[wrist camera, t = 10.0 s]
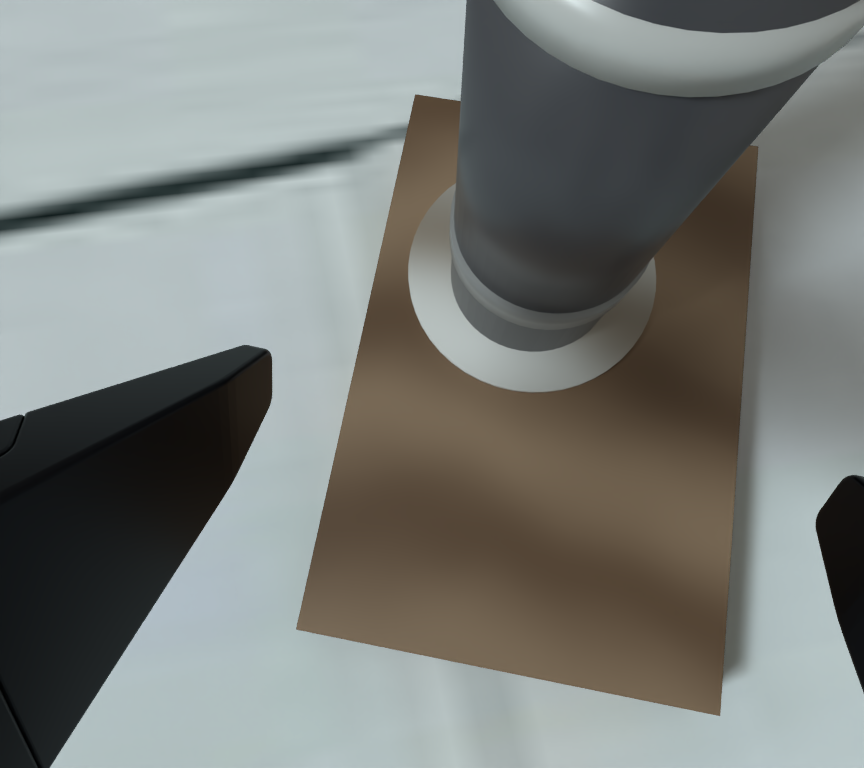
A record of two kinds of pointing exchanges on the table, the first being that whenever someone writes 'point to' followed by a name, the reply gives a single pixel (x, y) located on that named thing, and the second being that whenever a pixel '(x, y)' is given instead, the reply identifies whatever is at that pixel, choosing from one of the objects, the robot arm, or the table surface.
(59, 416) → the robot arm
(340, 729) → the table surface
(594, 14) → the dark grey cylinder
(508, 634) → the mount board
